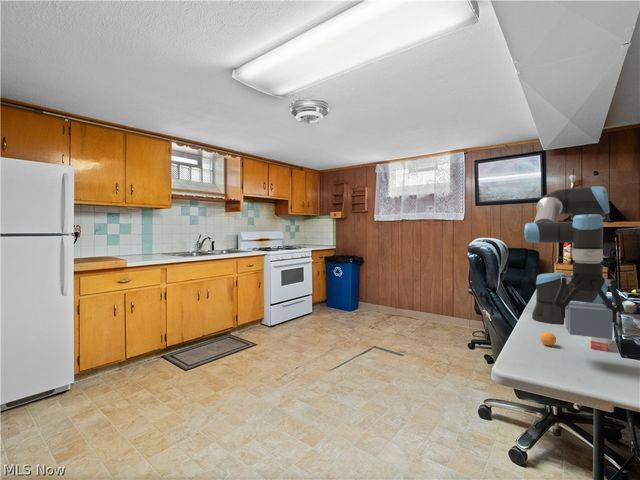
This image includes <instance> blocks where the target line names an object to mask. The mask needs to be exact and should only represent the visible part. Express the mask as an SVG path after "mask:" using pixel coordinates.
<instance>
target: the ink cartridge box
mask: <svg viewBox="0 0 640 480" xmlns="http://www.w3.org/2000/svg"><path fill="white" fill-rule="evenodd" d="M609 347H610V344H609V339H604V338H596V337H591V341H590V349H594V350H597V351H598V350H599V351H601V352H602V351H603V352H608V350H609Z"/></svg>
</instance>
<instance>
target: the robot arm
mask: <svg viewBox="0 0 640 480" xmlns="http://www.w3.org/2000/svg"><path fill="white" fill-rule="evenodd" d="M608 196H609V195H608V192H607V188H606V187H605V186H601V185H600V186H599V185H598V186H585V187H584V186H582V187H569V188H561V189H556V190H553V191H551V192H548V193H547V194H545V195H544V196H542V197H541V198H540V199H539V200H538V201H537V204H536V206H535V208H536V215H535V218H534V221H533V222H527V223H525V225H524V234H523V235H524V241H525V242H527V243H535V244H540V243H545V244H547V243H557V244H558V243H561V244H563V243H564V244H565V243H566V244H567V243H568V244H569V243H571V244H572V260H573V261H574V262H572V272H571V274H570V275H569V276H567V275H566V273H565V272H550V273H549V272H547V273H540V274H538V275H537V277H536V282H535V285H536V289H535V290H536V293H535V294H536V301H535V306H534V309H533V311H532V313H531V314H532V315H531V319H532V320H535V321H538V322H541V323H548V324H557V325H563V327H564V328H565V329H566V330H567V329H568V308H567V307H566V306H567V305H568V304H569V302H570V301H571V302H584V303H597V304H604V305H606V306H607V307H608V308H610V309H611V310H612V311H613V318H612V323H614V324H615V323H617V317H618V316H617V313H619V312H625V307H624V304H623V301H622V299H621V297H620V293H619V292H618V288H617V280H615V279H612V278H611V279H608V278H606V277H605V275H604V264H603V263H602V262H603V261H604V253H603V252H604V251H603V250H604V249H603V248H604V247H603V244H604V219H606V214H610V203H609V198H608ZM560 215H561V216H562V215H565V216H566V215H568V216H569V215H570V220H572V221H558V220H559V216H560ZM608 287H609V290H610V293H611V297H612V298H613V301H614V303H615V306H614V304H613V303H612V302H611V300H610V299H609V298H608V296H607V294H608Z"/></svg>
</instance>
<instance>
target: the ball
mask: <svg viewBox="0 0 640 480" xmlns="http://www.w3.org/2000/svg"><path fill="white" fill-rule="evenodd" d="M539 336H540V337H539V339H540V342H541V343H542V344H543V345H544V346H548V347H552V346H554V345H555V344H556V343H557V338H556V335H554V334H553V332H550V331H544V332H542V333H541V334H540V335H539Z"/></svg>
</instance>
